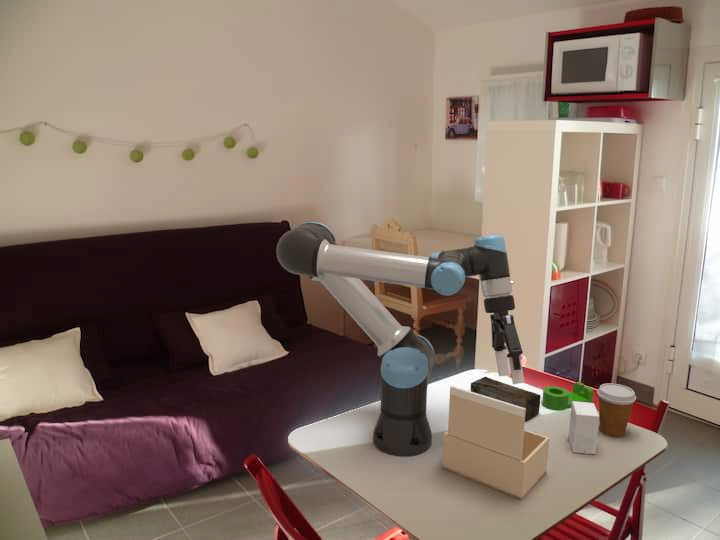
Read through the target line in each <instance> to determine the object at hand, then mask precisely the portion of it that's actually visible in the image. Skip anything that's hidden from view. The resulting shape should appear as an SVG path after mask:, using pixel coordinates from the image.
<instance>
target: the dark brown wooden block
mask: <svg viewBox="0 0 720 540" xmlns="http://www.w3.org/2000/svg"><path fill="white" fill-rule="evenodd" d="M470 391H471V392H474V393H477V394H480V395H484V396H487V397H490V398H493V399H497V400H500V401H503V402H507V403H510V404H513V405H516V406H520V407H523V408H526V415H525V422H527V421H528V420H530V419H532V418H534V417H536V416H537V415H539V414H540V408H541V394H539V393H535V392H532V391H529V390H526V389H524V388H519V387H517V386H513V385H510V384H509V383H504V382H502V381H499V380H496V379H493V378H491V377H487V376H484V377H481V378H479V379H476V380H474V381H472V382H471V383H470Z"/></svg>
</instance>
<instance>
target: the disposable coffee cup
mask: <svg viewBox="0 0 720 540" xmlns="http://www.w3.org/2000/svg"><path fill="white" fill-rule="evenodd" d="M596 392H597V395H598V414H599V431H600V432H601V433H602V434H604V435H606V436H609V437H614V438H618V437H619V438H621V437H624V436H625V434H626V432H627V431H626V430H627V426H628V423H629V421H630V420H629V419H630V416H631V412H632V408H633V405H634V403H635V401H636V400H637V396H636V394H635V393H636V392H635V391H634V390H633V388H631V387H629V386H627V385H623V384H619V383H611V382H610V383H603V384H600V385H599V387H598V389H597V391H596Z"/></svg>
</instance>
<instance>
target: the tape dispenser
mask: <svg viewBox="0 0 720 540" xmlns="http://www.w3.org/2000/svg"><path fill="white" fill-rule="evenodd" d="M593 398H594V389H593V388H592V387H590V386H588V385H587V386H585V384H584V383H583V382H581V381H577V382H574V383H573V384H572V391H568V390H567V389H565V388H563V387H560V386H553V385H552V386H551V385H549V386H545V387H543V391H542V399H541V400H542V402H541V405H542V406H543V407H544V408H546V409H548V410H550V411H556V412H557V411H558V412H560V411H561V412H563V411H565V410H569V409H571V406H572V401H577V402H587V403H593V400H594V399H593Z"/></svg>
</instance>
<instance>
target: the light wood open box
mask: <svg viewBox="0 0 720 540" xmlns="http://www.w3.org/2000/svg"><path fill="white" fill-rule="evenodd" d="M549 447H550V437H548V436H545V435H543V434H539V433H536V432H533V431H529V430H526V429H524V438H523V450H522V460H521V461H520V460H517V459H515V458H512V457H509V456H506V455H504V454H501V453H498V452H495V451H493V450H490V449H487V448H484V447H482V446H479V445H476V444H473V443H471V442H468V441H465V440H462V439H460V438H457V437H454V436H451V435H449V434H448V430H446V431H445V432H444V433H443V445H442V466H441V467H442V469H444V470H447V471H449V472H451V473H454V474H457V475H458V476H461V477H463V478H466V479H468V480H470V481H473V482H476V483H479V484H481V485H484V486H486V487H489V488H491V489H494V490H496V491H499V492H500V493H504V495H505V494H506V495H508V496H511V497H513V498H516V499H518V500H520V501H522V500H523V499H524V498H525V497H527V495H528V493H530V491H531V490H532V489H533V488H534V487H535V485H537V484H538V483H539V482H540V480H541V479H542V478H543V477H544V476H545V475H546V473H547V469H548V460H549V459H548V458H549Z"/></svg>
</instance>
